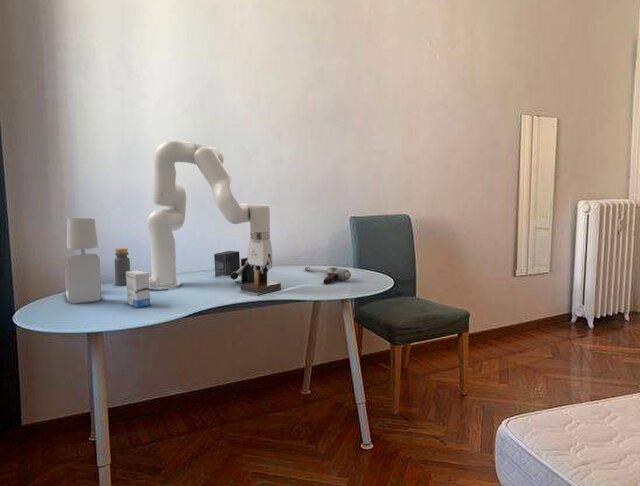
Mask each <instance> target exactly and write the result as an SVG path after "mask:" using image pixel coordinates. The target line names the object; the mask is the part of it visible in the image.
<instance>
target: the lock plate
mask: <svg viewBox="0 0 640 486" xmlns="http://www.w3.org/2000/svg"><path fill="white" fill-rule="evenodd" d="M281 288H282V283H281V282H279V281H272V280H268V279H267V283H264V284H260V285H256V284H254V282H250V283H246V284H240V291H243V292H248V293H252V294H256V296H257V297H258V296H263V295H267V294H272V293H276V292H280V291H281Z"/></svg>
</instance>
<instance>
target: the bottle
mask: <svg viewBox="0 0 640 486" xmlns="http://www.w3.org/2000/svg"><path fill="white" fill-rule="evenodd" d="M128 249H129V248H128V247H117V248H116V247H115V253H114V255H115V257H116V258H114V262H113V263H114V280H115V281H114V282H115V285H116V286H127V283H126V272H127V271H131V260H130V258H129V257H128V256H129V252H128Z"/></svg>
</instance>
